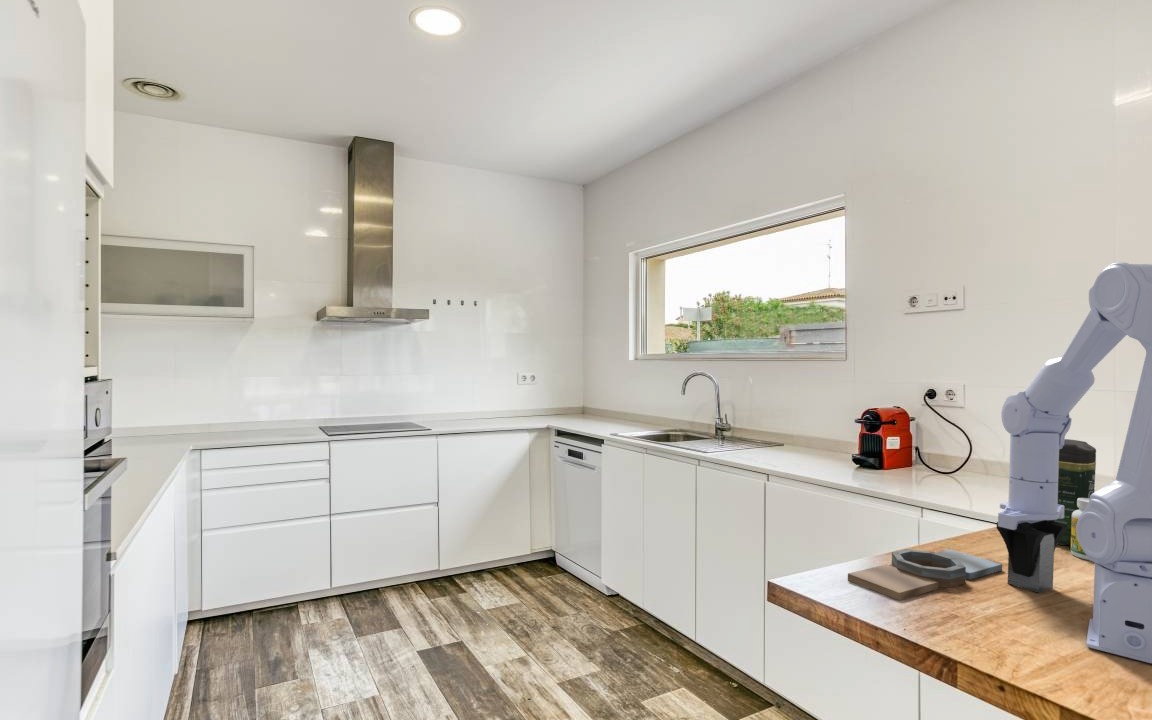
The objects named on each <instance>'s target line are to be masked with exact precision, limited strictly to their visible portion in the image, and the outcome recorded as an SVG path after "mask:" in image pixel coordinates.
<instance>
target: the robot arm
mask: <svg viewBox="0 0 1152 720" xmlns="http://www.w3.org/2000/svg"><path fill="white" fill-rule="evenodd" d="M1088 304H1089V308H1090V311H1089V312H1088V313H1087V316H1086V317H1085V318H1084V320H1083V322H1082V324H1081V325H1080V327H1079V329H1078V330H1077V332H1076V334H1075V335H1074V337H1073V339H1072V340H1071V343H1070V344H1069V345H1068V347H1067V349H1066V350H1065V352H1064V353H1063V355H1062V356H1059V357H1053V358H1052V357H1051V358H1050V359H1048V360H1047V361H1046V362H1045V363H1044V364H1043V366H1042V368H1041V369H1040V370H1039V371H1038V373H1037V374H1036V376H1035V377H1034V378H1033V380H1032V381H1031V382H1030V384H1029V385H1028V387H1027V388H1026V389H1025V391H1019V392H1018V393H1017V394H1011V395H1009V396H1007V397H1006V399H1005V401H1004V402H1003V406H1001V407H1002V408H1001V422H1002V426H1003V427H1004V429H1005V431H1006V432H1007V433H1008V434H1010V437H1009V438H1010V442H1009V468H1008V469H1009V473H1008V474H1009V475H1008V476H1009V477H1008V502H1001V503H999V509H1003V510H1002V512H998V513H997V514H998V515H997V521H996V529H997V531H998V532H999V534H1000V536H1001V538H1002V540H1003V542H1004V543H1005V547H1006V550H1007V554H1009V557H1010V561H1011V565H1012V569H1013V572H1014V573H1016V574H1020V575H1023V576H1026V577H1031V576H1032V573H1033V570H1034V566H1035V560H1036V554H1037V551H1038V548H1039V545H1040V543H1041V541H1042V539H1043V538H1044V536H1045V535H1046V532H1042V531H1047V532H1051V533H1055V535H1054V552H1055V550H1056V548H1057V546H1058V545H1059V544H1058V542H1059V540H1060V539H1061V537H1062V536H1063V534H1064V533H1065V532H1066V531H1067V524H1064V523H1060V522H1055V521H1054V520H1056V519H1062V518H1064V505H1059V504H1058V471H1059V449H1062V448H1063V446H1064V439H1066V438H1065V437H1066V435H1067V433H1068V432H1069V430H1070V428H1071V425H1072V417H1070V412H1071V411H1072V410H1073V409H1074V408H1075V407H1076V405H1077V404H1078V403H1079V401H1081V399H1082V398H1083V397H1084V396H1085V395H1086V394H1087V393H1088V391H1089V390H1090V389H1091V387H1092V386H1093V385H1094V384H1095V381H1096V380H1095V379H1096V378H1095V375H1094V373H1093V371H1092V370H1093V369H1095V368H1096V367H1097V365H1098V364H1099V363H1101V361H1102V360H1104V359H1105V357H1106V356H1107V355H1109V353H1111V351H1112V350H1113V349H1114V348H1115V347H1117V346H1118V344H1119V343H1120V342H1122V340H1123V339H1124V338H1125V337H1126V336H1128V337H1129V338H1131V339H1134V340H1136V341H1138V342H1139V343H1140V344H1141V346H1142V347H1143V348H1144V350H1145V351H1146V352H1145V357H1144V362H1143V365H1142V370H1141V374H1140V377H1139V382H1138V386H1137V391H1136V394H1135V399H1134V403H1133V406H1132V407H1133V408H1132V410H1131V411H1132V412H1131V415H1130V419H1129V422H1128V423H1129V424H1128V428H1127V431H1126V436H1125V440H1124V443H1123V444H1124V445H1123V449H1122V453H1121V457H1120V461H1119V464H1118V467H1117V472H1116V477H1115V480H1113V481H1111V482H1110V483H1108V484H1106V485H1105V486H1103V487H1101V488H1100V489H1098V490H1096V491H1094V493H1093V494H1091V495H1090V499H1089V503H1088V506H1087V508H1086V509H1085V510H1084V511H1083V513H1082V514H1081V515H1080V517H1079V519H1078V522H1077V525H1076V535H1077V539H1078V542H1079V544H1080V546H1081V548H1082V549H1083V551H1084V552H1085V554H1086V555H1087V556H1088V559H1089V560H1090V561H1089V560H1088V561H1089V562H1093V563H1094V572H1093V573H1094V579H1093V582H1094V583H1093V607H1092V608H1093V611H1092V618H1089V620H1088V621H1089V622H1088V627H1087V628H1088V629H1087V634H1086V642H1085V643H1086V644H1085V645H1086V646H1087V647H1088V648H1091V649H1092V650H1093V649H1094V650H1097V651H1102V652H1106V653H1109V654H1114V655H1116V656H1121V657H1125V658H1128V659H1131V660H1136V661H1141V662H1143V663H1147V664H1152V263H1149V264H1148V263H1128V262H1114V263H1111V264H1109V265H1107V266H1106V267H1104V268H1103V269H1102V270H1101V272H1099V274H1098V275H1097V277H1096V279H1095V282H1094V283H1093V285H1092V286H1091V288H1089V290H1088ZM1033 528H1034V529H1038V530H1042V531H1038V530H1034V529H1033Z"/></svg>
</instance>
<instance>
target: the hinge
mask: <svg viewBox="0 0 1152 720" xmlns="http://www.w3.org/2000/svg"><path fill="white" fill-rule="evenodd" d="M1001 570H1002V571H1003V564H1002V563H999V562H996V561H992V560H989V559H986V558H983V557H979V556H976V555H972V554H968V553H964V552H961V551H958V550H954V549H950V548H949V549H945V550H942V551H937V552H935V551H930V550H918V549H908V548H905V549H901V550H897V551H893V552H891V565H889V564H882V565H879V566H875V567H874V566H873V567H870V568H865V569H862V570H856V571H853V572H849V573H847V581H848V582H851V583H854V584H856V585H859V586H862V587H864V588H866V589H869V590H872V591H873V592H878V593H880V594H883V595H885V596H887V597H890V598H893V599H895V600H899V601H901V600H905V599H908V598H912V597H915V596H919V595H922V594H925V593H929V592H931V591H936V590H938V589H939V587H943V588H954V587H958V586H961V585H963V584H966V580H971V581H972V580H974V579H977V578H982V577H985V576H988V575H991V573H992V574H995V573H998V571H999V572H1001ZM994 572H995V573H994ZM984 575H985V576H984Z"/></svg>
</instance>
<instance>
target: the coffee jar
mask: <svg viewBox="0 0 1152 720" xmlns="http://www.w3.org/2000/svg"><path fill="white" fill-rule="evenodd" d="M1096 460H1097V449H1096V447H1094V446H1092V445H1091V444H1089V443H1088V442H1086V441H1083V440H1078V439H1067V438H1065V439H1064V446H1063V448H1062V449H1059V471H1058V504H1059V505H1064V518H1062V519H1056V520H1054V521H1055V522H1060V523H1064V524H1067V531H1066V532H1065V533H1064V534H1063V536H1062V537H1061V539H1060V540H1059V542H1058V544H1057V545H1061V546H1066V545H1068V546H1071V521H1072V513H1073V512H1074V511H1075V510H1079V507H1077V499H1078V498H1090V495H1091V494H1093V493H1094V492H1095V487H1096V486H1095V483H1096V481H1095V480H1096V468H1097V467H1096V465H1097V461H1096Z"/></svg>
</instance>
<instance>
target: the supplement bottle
mask: <svg viewBox="0 0 1152 720" xmlns="http://www.w3.org/2000/svg"><path fill="white" fill-rule="evenodd" d="M1089 499H1090V498H1078V499H1077V507H1079V510H1075V511H1074V512H1073V513H1072V521H1071V545H1070V553H1071V555H1072V556H1074V557H1075V558H1079V559H1082V560H1085V561H1089V562H1091V561H1090V560H1089V559H1088V556H1087V555H1086V554H1085V552H1084V551H1083V549H1082V548H1081V546H1080V544H1079V542H1078V539H1077V535H1076V525H1077V522H1078V519H1079V517H1080V515H1081V514H1082V513H1083V511H1084V510H1085V509H1086V508H1087V506H1088V503H1089Z"/></svg>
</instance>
